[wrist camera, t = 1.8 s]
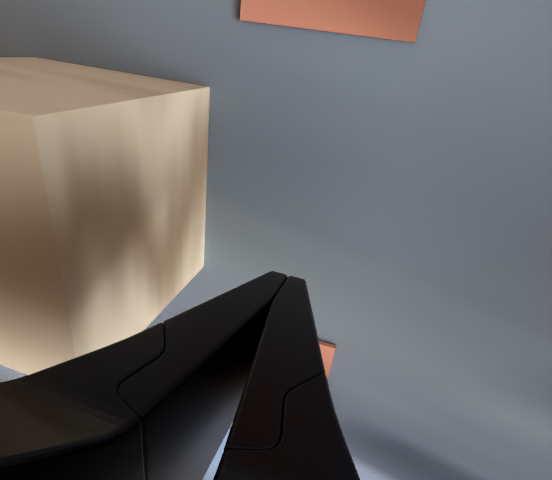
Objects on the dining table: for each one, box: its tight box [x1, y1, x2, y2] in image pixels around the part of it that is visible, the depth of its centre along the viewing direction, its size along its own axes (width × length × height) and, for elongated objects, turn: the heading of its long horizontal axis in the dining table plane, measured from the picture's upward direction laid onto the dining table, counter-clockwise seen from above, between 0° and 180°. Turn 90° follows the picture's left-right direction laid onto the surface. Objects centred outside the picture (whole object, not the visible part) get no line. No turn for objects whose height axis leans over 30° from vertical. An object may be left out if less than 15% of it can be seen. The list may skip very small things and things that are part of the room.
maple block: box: [0, 57, 210, 375], centre depth 12 cm, size 7×7×7 cm
